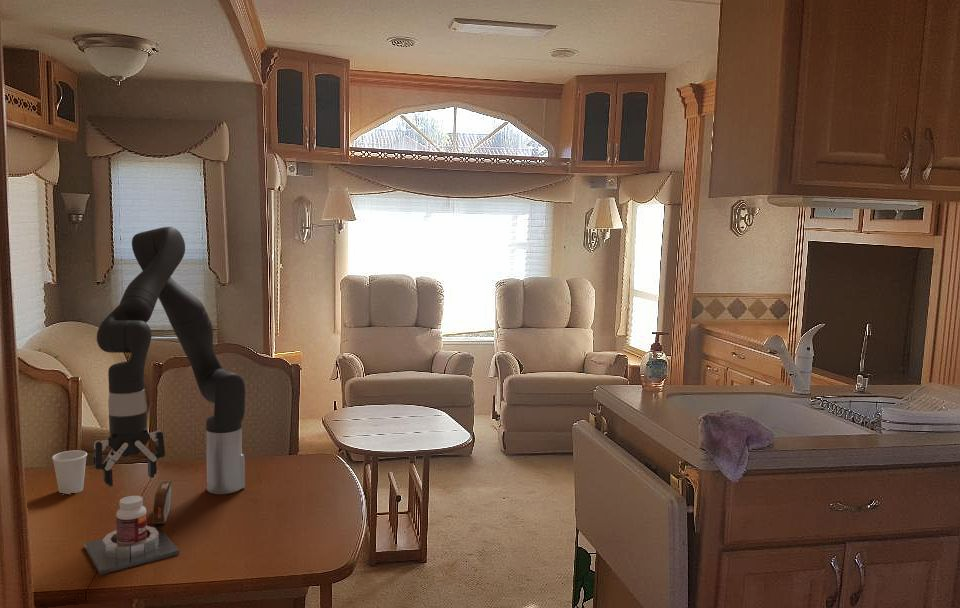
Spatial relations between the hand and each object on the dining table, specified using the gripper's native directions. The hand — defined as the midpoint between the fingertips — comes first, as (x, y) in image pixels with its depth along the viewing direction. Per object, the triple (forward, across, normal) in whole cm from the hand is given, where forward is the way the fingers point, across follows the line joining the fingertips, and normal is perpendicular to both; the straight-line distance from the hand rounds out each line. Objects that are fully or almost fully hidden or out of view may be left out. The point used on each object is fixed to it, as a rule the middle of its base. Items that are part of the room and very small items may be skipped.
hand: (130, 481), depth 161 cm
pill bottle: (+16, 0, 0) cm, 16 cm away
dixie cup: (+17, +4, -47) cm, 50 cm away
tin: (+17, -11, -15) cm, 25 cm away
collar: (+16, 0, 0) cm, 16 cm away
